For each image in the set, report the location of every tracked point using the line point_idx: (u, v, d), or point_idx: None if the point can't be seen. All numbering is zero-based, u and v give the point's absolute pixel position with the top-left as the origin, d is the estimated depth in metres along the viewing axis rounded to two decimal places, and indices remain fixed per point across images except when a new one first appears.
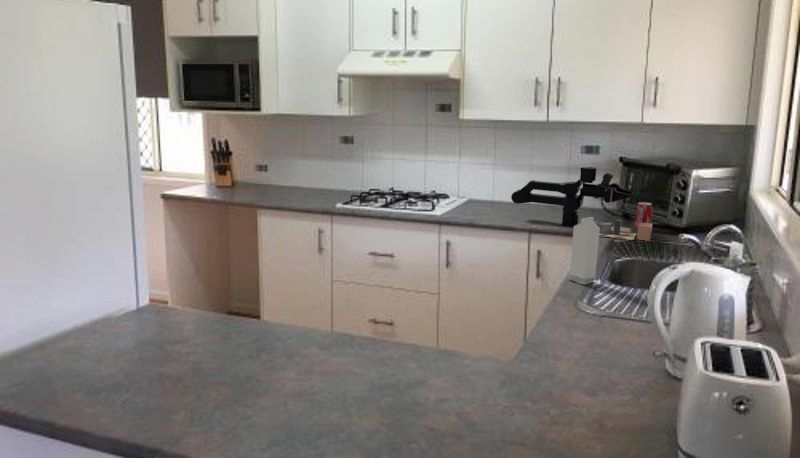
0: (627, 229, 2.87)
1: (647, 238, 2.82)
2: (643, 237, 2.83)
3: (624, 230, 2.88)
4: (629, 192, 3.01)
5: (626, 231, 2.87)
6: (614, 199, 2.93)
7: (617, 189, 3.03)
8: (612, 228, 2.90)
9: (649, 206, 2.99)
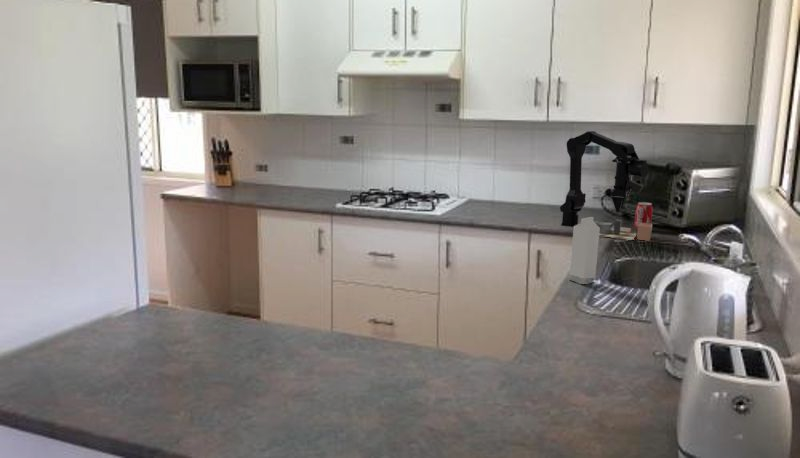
0: (627, 229, 2.87)
1: (647, 238, 2.82)
2: (643, 237, 2.83)
3: (624, 230, 2.88)
4: (620, 205, 2.92)
5: (626, 231, 2.87)
6: (614, 198, 2.82)
7: None
8: (612, 228, 2.90)
9: (649, 206, 2.99)
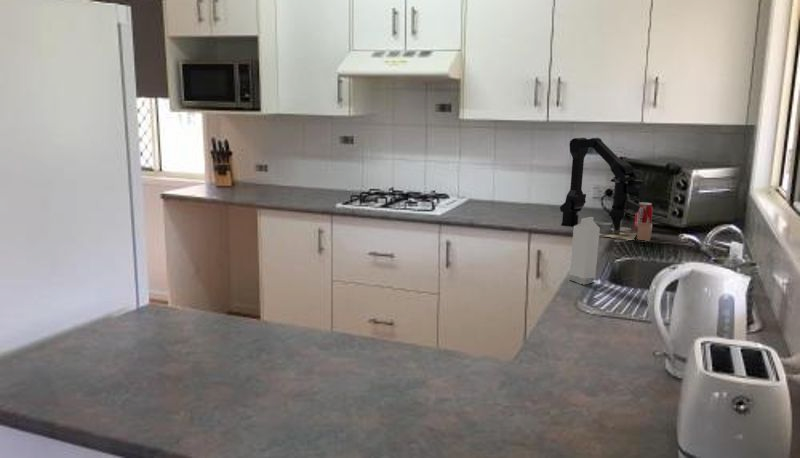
0: (627, 229, 2.87)
1: (647, 238, 2.82)
2: (643, 237, 2.83)
3: (624, 230, 2.88)
4: None
5: (626, 231, 2.87)
6: (613, 217, 2.86)
7: None
8: (612, 228, 2.90)
9: (649, 206, 2.99)
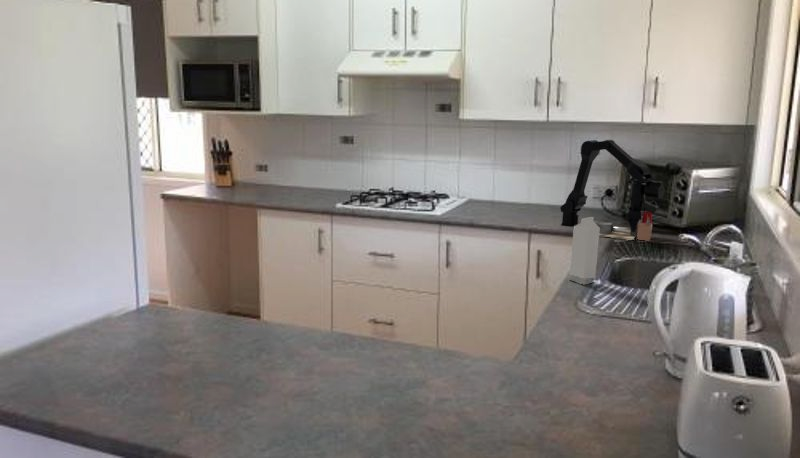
0: None
1: (647, 238, 2.82)
2: (643, 237, 2.83)
3: None
4: None
5: None
6: (629, 218, 2.83)
7: None
8: (628, 230, 2.87)
9: None
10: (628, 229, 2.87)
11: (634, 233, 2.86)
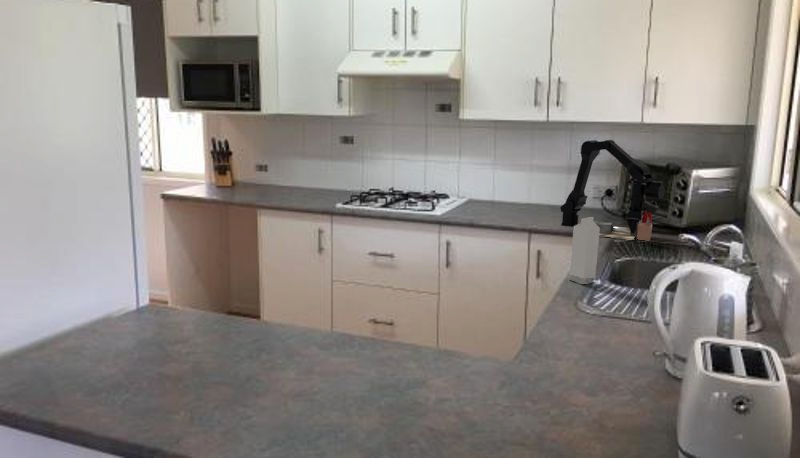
0: None
1: (647, 238, 2.82)
2: (643, 237, 2.83)
3: None
4: None
5: None
6: (629, 220, 2.81)
7: None
8: (628, 230, 2.87)
9: None
10: (628, 229, 2.87)
11: (634, 233, 2.86)
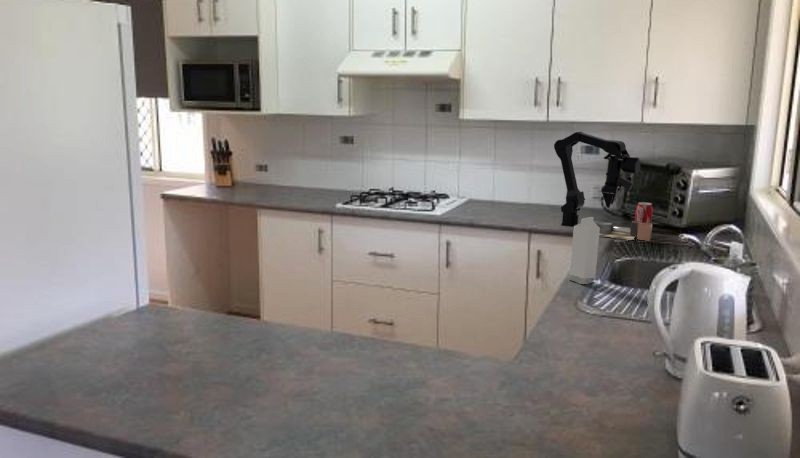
0: None
1: (647, 238, 2.82)
2: (643, 237, 2.83)
3: None
4: (611, 201, 3.00)
5: None
6: (604, 194, 2.90)
7: None
8: (628, 230, 2.87)
9: (649, 206, 2.99)
10: (628, 229, 2.87)
11: (634, 233, 2.86)
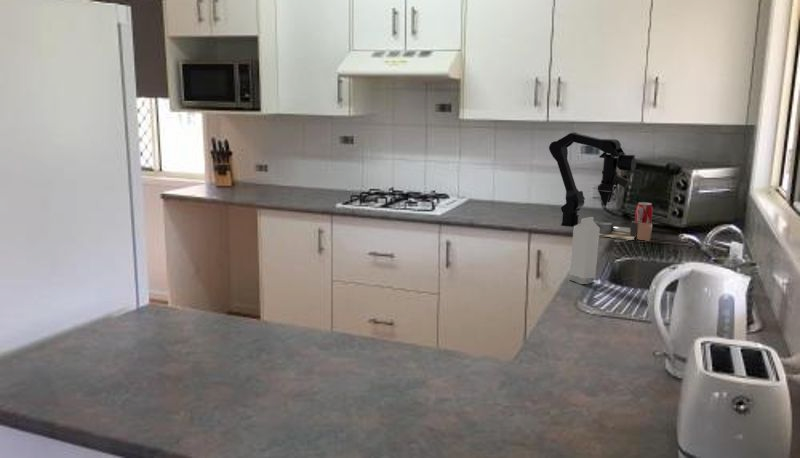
0: None
1: (647, 238, 2.82)
2: (643, 237, 2.83)
3: None
4: (608, 199, 3.01)
5: None
6: (601, 192, 2.91)
7: None
8: (628, 230, 2.87)
9: (649, 206, 2.99)
10: (628, 229, 2.87)
11: (634, 233, 2.86)
